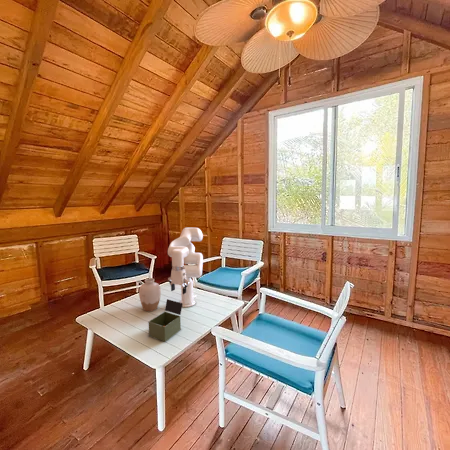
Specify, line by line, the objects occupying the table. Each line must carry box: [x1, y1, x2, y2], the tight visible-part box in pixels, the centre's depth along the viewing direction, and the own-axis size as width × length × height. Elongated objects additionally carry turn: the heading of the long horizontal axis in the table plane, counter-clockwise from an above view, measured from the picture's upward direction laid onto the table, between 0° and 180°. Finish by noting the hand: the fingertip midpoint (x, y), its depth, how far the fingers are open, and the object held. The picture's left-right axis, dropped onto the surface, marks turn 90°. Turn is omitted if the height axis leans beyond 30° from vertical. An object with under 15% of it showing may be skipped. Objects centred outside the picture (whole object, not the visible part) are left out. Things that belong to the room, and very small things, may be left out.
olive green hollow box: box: [148, 311, 182, 343], centre depth 159 cm, size 15×13×10 cm
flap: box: [164, 299, 183, 316], centre depth 165 cm, size 7×13×1 cm
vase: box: [138, 277, 162, 312], centre depth 190 cm, size 16×16×23 cm
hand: (178, 291), depth 169 cm, fingers open, 9 cm apart
